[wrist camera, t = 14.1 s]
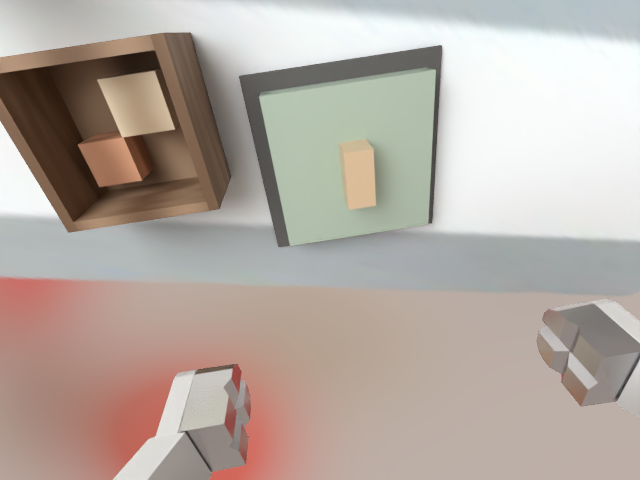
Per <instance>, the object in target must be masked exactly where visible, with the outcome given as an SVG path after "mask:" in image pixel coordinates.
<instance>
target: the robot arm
mask: <svg viewBox="0 0 640 480" xmlns="http://www.w3.org/2000/svg"><path fill="white" fill-rule="evenodd" d="M542 320H543V321H544V323H545V324H546V325H545V326H544V327H543V328H542V329H541V330H540V331H539V333H538V337H537V344H538V349H539V352H540V354H541V356H542V358H543V359H544V361H545V362H546V363H547V365H548V366H549V367H550V368H552V369H554V370H555V371H557V372H559V373H561V375H562V383H563V385H564V386H565V387H566V389H567V390H568V391H569V392H570V394H571V395H572V396H573V397H574V398H575V400H576V401H577V402H578V403H579V405H580V406H588V405H595V404H601V403H608V402H615V401H617V402H616V404H618V405H619V406H621V407H622V408H624V409H626V410H627V411H629V412H630V413H632V414H633V415H635V416H637V417H638V418H640V321H639V320H638V319H636V318H635V317H634V316H633V315H631V314H630V313H629V312H628V311H627V310H625V309H624V308H623V307H622V306H620V305H619V304H618V303H617V302H615V301H613V300H610V299H603V300H597V301H592V302H586V303H585V302H584V303H578V304H573V305H568V306H562V307H557V308H552V309H548V310H547V311H546V312H545V313H544V315H543V319H542ZM250 413H251V404H250V394H249V389H248V386H247V384H246V382H244V381H242V380H241V370H240V368H239V366H238V364H232V365H225V366H218V367H212V368H206V369H199V370H192V371H186V372H180V373H178V374H177V375H176V377H175V378H174V381H173V384H172V387H171V390H170V393H169V396H168V399H167V402H166V406H165V409H164V412H163V415H162V418H161V421H160V424H159V427H158V431H157V434H156V437H154V438H149V439H148V440H147V442H146V443H145V444H144V445H143V446H142V447H141V448H140V450H139V451H138V452H137V453H136V454H135V455H134V457H133V458H132V459H131V460H130V461H129V462H128V463H127V464H126V465H125V466H124V468H123V469H122V470H121V471H120V472H119V473H118V474H117V476H116V477H115V478H114V479H113V480H209V479H210V477H211V475H212V473H211V472H214V471H218V470H224V469H229V468H234V467H238V466H243V465H246V460H247V449H248V438H249V437H248V435H247V433H246V431H245V428H244V427H245V426H246V425H247V423H248V422H249V420H250Z"/></svg>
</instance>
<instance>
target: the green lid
mask: <svg viewBox="0 0 640 480" xmlns="http://www.w3.org/2000/svg"><path fill="white" fill-rule="evenodd" d="M435 79H436V70H434V69H430V68H426V67H425V68H419V69H412V70H405V71H399V72H392V73H386V74H379V75H372V76H366V77H359V78H353V79H346V80H339V81H333V82H326V83H320V84H313V85H307V86H300V87H293V88H287V89H280V90H274V91H267V92H261V93H260V96H259V99H260V104H261V109H262V113H263V118H264V123H265V128H266V133H267V138H268V142H269V147H270V152H271V157H272V162H273V166H274V171H275V176H276V181H277V186H278V190H279V195H280V200H281V205H282V210H283V214H284V219H285V224H286V229H287V234H288V239H289V243H290V246H294V245H300V244H306V243H313V242H319V241H326V240H332V239H338V238H345V237H351V236H357V235H364V234H370V233H377V232H383V231H389V230H396V229H402V228H409V227H415V226H421V225H428V221H429V201H430V181H431V160H432V140H433V120H434V99H435Z"/></svg>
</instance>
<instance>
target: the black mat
mask: <svg viewBox="0 0 640 480" xmlns="http://www.w3.org/2000/svg"><path fill="white" fill-rule="evenodd" d="M441 53H442V46H441V45H440V46H433V47H427V48H420V49H413V50H407V51H400V52H394V53H387V54H381V55H374V56H368V57H361V58H354V59H348V60H341V61H335V62H328V63H322V64H315V65H308V66H302V67H295V68H289V69H282V70H276V71H269V72H263V73H256V74H249V75H243V76H239V79H240V83H241V87H242V91H243V96H244V100H245V104H246V109H247V113H248V117H249V122H250V126H251V130H252V135H253V139H254V143H255V148H256V152H257V156H258V161H259V165H260V169H261V174H262V178H263V182H264V187H265V191H266V195H267V200H268V204H269V208H270V213H271V217H272V221H273V226H274V230H275V234H276V238H277V243H278V247H283V246H289V245H290V243H289V239H288V234H287V229H286V224H285V219H284V214H283V210H282V205H281V200H280V195H279V190H278V186H277V181H276V176H275V171H274V166H273V162H272V157H271V152H270V147H269V142H268V138H267V133H266V128H265V123H264V118H263V113H262V109H261V104H260V99H259V96H260V93H261V92H267V91H274V90H280V89H287V88H293V87H300V86H307V85H313V84H320V83H326V82H333V81H339V80H346V79H353V78H359V77H366V76H372V75H379V74H386V73H392V72H399V71H405V70H412V69H419V68H425V67H426V68H430V69H434V70H436V79H435V99H434V120H433V140H432V160H431V181H430V201H429V221H428V224H429V223H432V217H433V199H434V181H435V162H436V144H437V126H438V108H439V89H440V71H441Z"/></svg>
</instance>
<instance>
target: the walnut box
mask: <svg viewBox="0 0 640 480" xmlns="http://www.w3.org/2000/svg"><path fill="white" fill-rule="evenodd" d="M0 121H1V123H2V124H3V126H4V128H5V129H6V131H7V132H8V134H9V136H10V137H11V139H12V141H13V142H14V144H15V146H16V147H17V149H18V151H19V152H20V154H21V155H22V157H23V159H24V160H25V162H26V164H27V165H28V167H29V169H30V170H31V172H32V174H33V175H34V177H35V178H36V180H37V182H38V183H39V185H40V187H41V188H42V190H43V192H44V193H45V195H46V197H47V198H48V200H49V201H50V203H51V205H52V206H53V208H54V210H55V211H56V213H57V215H58V216H59V218H60V220H61V221H62V223H63V224H64V226H65V228H66V229H67V231H68V233H69V232H75V231H82V230H88V229H95V228H101V227H108V226H114V225H120V224H127V223H133V222H140V221H146V220H152V219H159V218H165V217H172V216H178V215H184V214H191V213H197V212H204V211H210V210H216V209H220V206H221V203H222V200H223V198H224V195H225V192H226V189H227V187H228V184H229V181H230V178H231V175H230V172H229V168H228V164H227V161H226V157H225V154H224V150H223V147H222V143H221V140H220V136H219V133H218V129H217V126H216V122H215V119H214V115H213V112H212V108H211V104H210V101H209V97H208V94H207V90H206V87H205V83H204V80H203V76H202V73H201V69H200V66H199V62H198V59H197V55H196V51H195V48H194V44H193V41H192V37H191V34H190V33H159V34H152V35H146V36H139V37H133V38H126V39H119V40H113V41H106V42H99V43H93V44H86V45H79V46H73V47H66V48H60V49H53V50H46V51H40V52H33V53H26V54H20V55H13V56H7V57H0Z"/></svg>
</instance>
